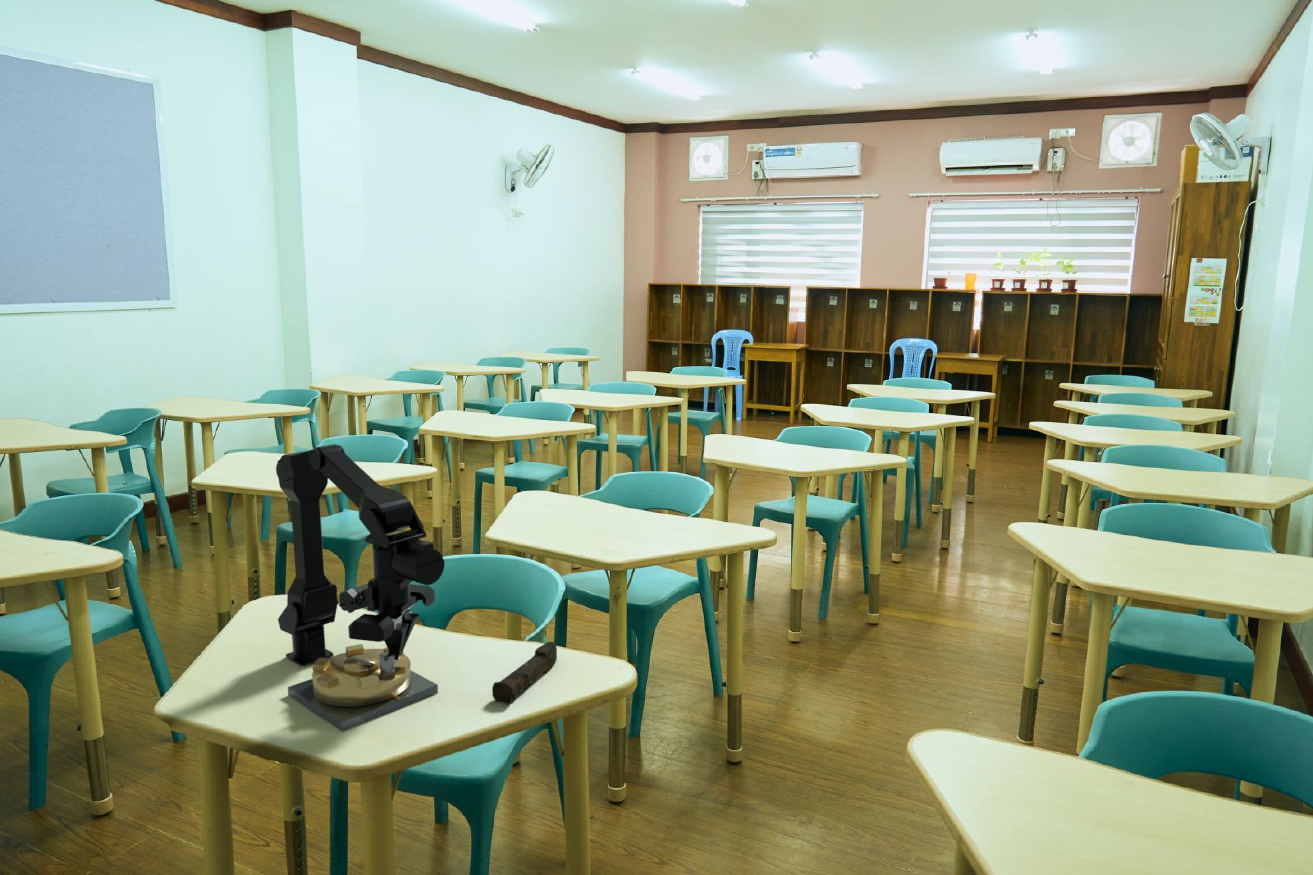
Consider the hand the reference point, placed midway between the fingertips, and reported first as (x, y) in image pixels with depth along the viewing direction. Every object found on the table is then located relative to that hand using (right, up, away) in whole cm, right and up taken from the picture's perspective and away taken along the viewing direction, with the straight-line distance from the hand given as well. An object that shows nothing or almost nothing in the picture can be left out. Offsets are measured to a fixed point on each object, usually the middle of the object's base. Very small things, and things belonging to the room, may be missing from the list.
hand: (396, 659), depth 151 cm
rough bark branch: (+21, -6, +8) cm, 24 cm away
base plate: (-6, -7, +2) cm, 10 cm away
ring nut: (-6, -5, +2) cm, 8 cm away
